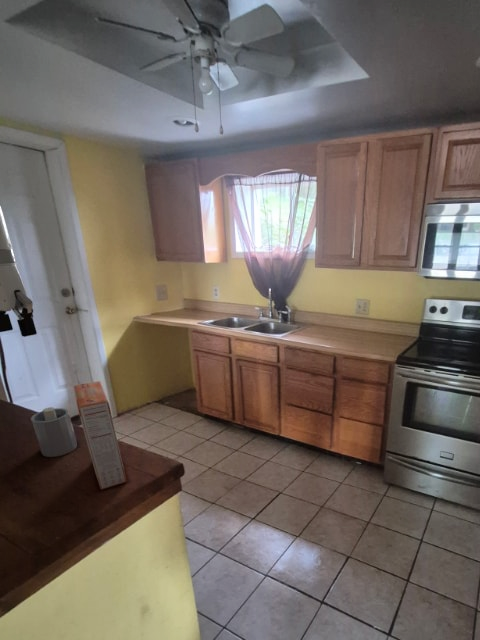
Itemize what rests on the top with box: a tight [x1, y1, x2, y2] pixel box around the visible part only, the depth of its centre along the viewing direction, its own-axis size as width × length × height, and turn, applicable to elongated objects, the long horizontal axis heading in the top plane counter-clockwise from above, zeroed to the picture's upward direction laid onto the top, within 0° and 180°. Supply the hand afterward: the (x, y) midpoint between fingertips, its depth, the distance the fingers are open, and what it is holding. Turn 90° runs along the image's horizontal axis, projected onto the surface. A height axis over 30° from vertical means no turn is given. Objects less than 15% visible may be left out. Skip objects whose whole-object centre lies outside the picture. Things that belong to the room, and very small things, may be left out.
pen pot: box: [30, 407, 78, 458], centre depth 97 cm, size 8×8×10 cm
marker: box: [42, 406, 57, 421], centre depth 96 cm, size 2×2×11 cm
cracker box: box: [73, 380, 128, 490], centre depth 85 cm, size 14×6×21 cm, turn 33°
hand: (17, 333), depth 90 cm, fingers open, 9 cm apart
